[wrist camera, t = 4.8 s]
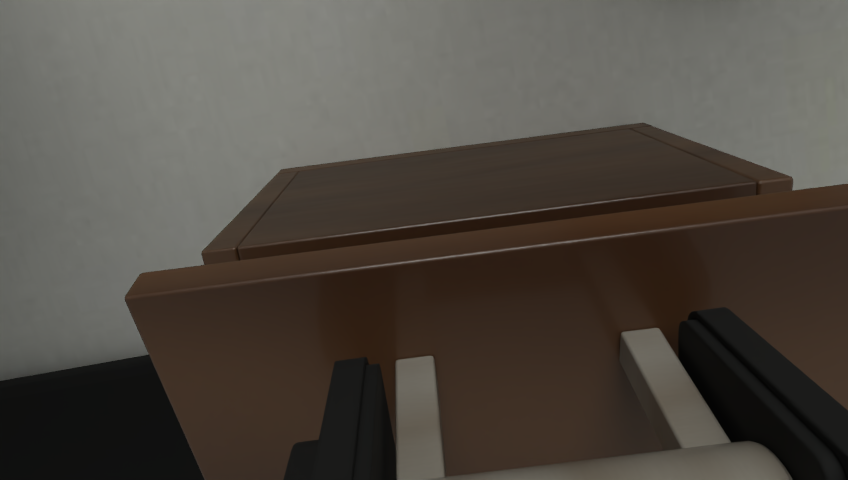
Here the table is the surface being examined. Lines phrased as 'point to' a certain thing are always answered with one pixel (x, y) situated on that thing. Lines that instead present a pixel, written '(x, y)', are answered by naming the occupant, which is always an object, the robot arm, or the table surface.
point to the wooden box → (484, 190)
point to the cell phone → (93, 426)
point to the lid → (506, 340)
